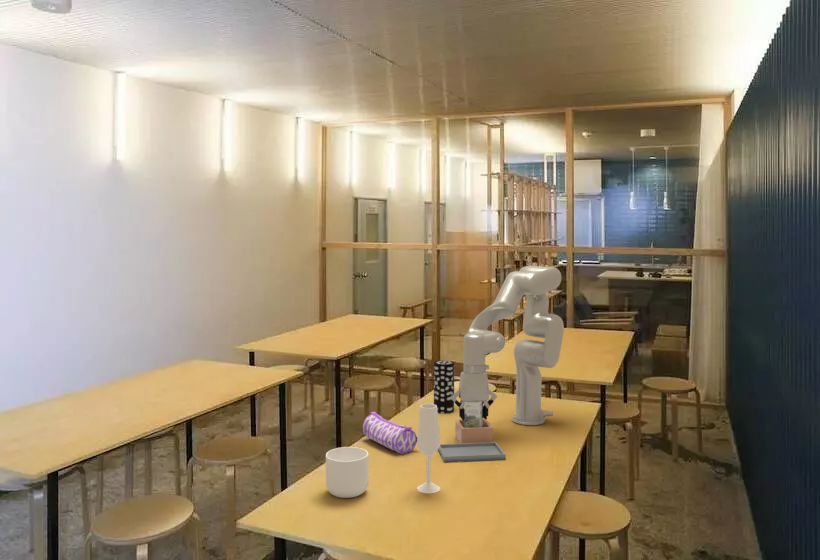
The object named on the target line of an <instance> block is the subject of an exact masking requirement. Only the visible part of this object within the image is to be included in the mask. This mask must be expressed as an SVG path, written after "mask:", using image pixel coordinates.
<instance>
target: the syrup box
mask: <svg viewBox="0 0 820 560" xmlns="http://www.w3.org/2000/svg"><path fill="white" fill-rule="evenodd" d="M483 406H484V403H483V401H474V402H465V405H464V409H465V419H464V428H476V427H483V419H484V418H483Z"/></svg>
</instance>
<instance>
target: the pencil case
mask: <svg viewBox="0 0 820 560" xmlns="http://www.w3.org/2000/svg"><path fill="white" fill-rule="evenodd" d="M362 432H363V435H364V436H365V437H366V438H368V439H370V440H372V441H373V442H375V443H378V444H379V445H381V446H383V447H385V448H388V449H389V450H391V451H394V452H396V453H398V454H401V455H405V454H409V453H411V452H412V451H413V450H414V449H415V448H416V446H417V436H418V435H417V433H416V432H415V431H414V430H413V427H412V426H407V425H400V424H398V423H394V422H391V421H389V420H388V419H385V418H383V416H381V415H380V414H379V413H378V414H377V412H376V411H371V412H369V415H368V416H366V418H364V421H363V423H362ZM408 452H409V453H408ZM404 453H405V454H404Z"/></svg>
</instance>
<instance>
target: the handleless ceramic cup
mask: <svg viewBox="0 0 820 560" xmlns="http://www.w3.org/2000/svg"><path fill="white" fill-rule="evenodd" d="M325 486H326V489H327V491H328V492H329V493H330V494H331V495H332V496H334V497H337V498H341V499H349V498H350V499H351V498H356V497H358V496H361V495H362V494H363V493H365V492H366V490H367V489H368V487H369V452H368V451H367V450H366V449H365V448H361V447H355V446H341V447H336V448H333V449H330V450H328V451H327V452H325Z"/></svg>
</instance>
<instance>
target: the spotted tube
mask: <svg viewBox="0 0 820 560" xmlns="http://www.w3.org/2000/svg"><path fill="white" fill-rule="evenodd" d="M454 393H455V361H452V360H436V361H434V362H433V404H434V405H437V412H438V414H445V415H446V413H447V414H451V413H452V414H453V413H454V411H455V403H454V401H453V400H452V399H451V396H452V395H453V394H454Z"/></svg>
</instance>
